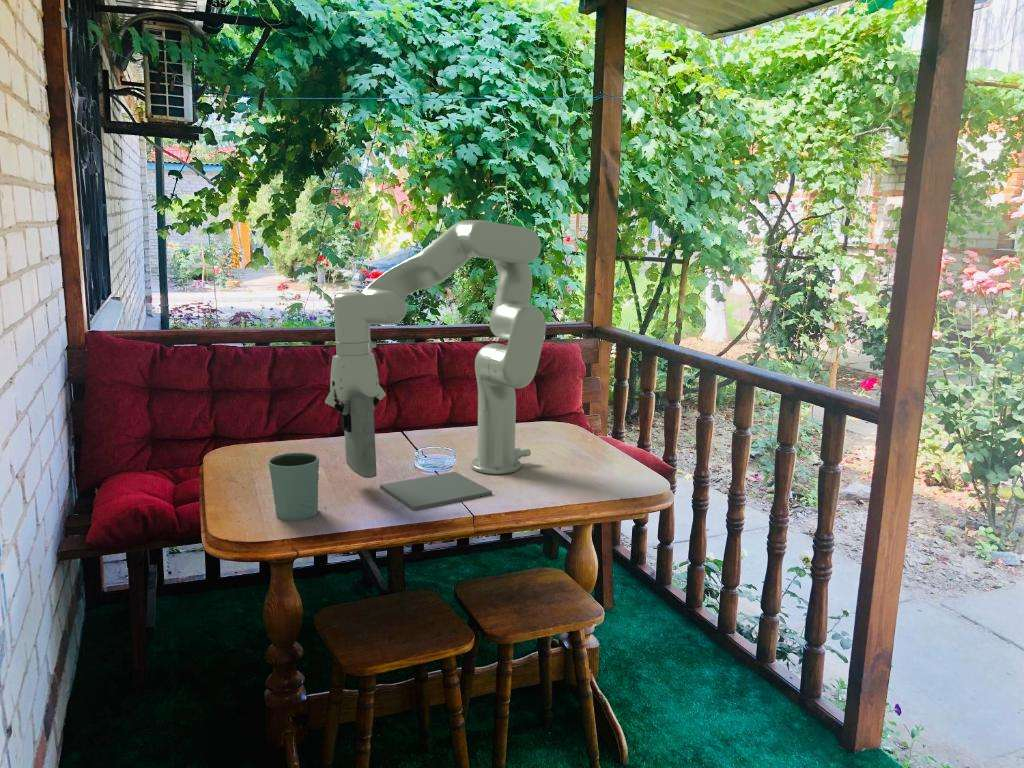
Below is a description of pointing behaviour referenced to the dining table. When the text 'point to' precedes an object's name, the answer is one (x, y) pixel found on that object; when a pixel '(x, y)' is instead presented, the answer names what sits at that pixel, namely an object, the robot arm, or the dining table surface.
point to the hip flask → (361, 437)
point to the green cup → (295, 485)
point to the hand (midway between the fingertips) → (357, 428)
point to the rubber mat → (434, 490)
